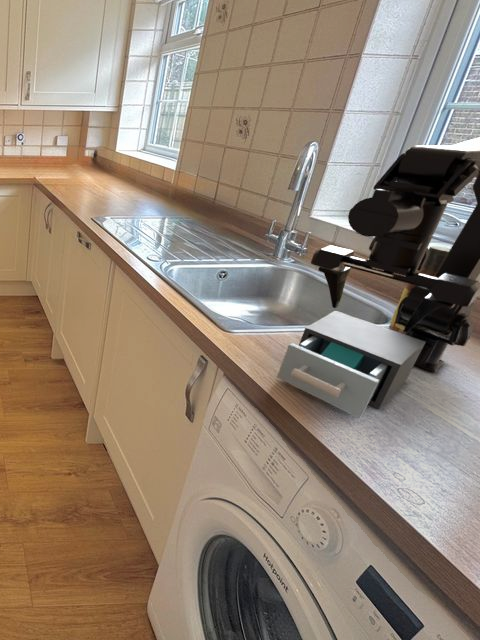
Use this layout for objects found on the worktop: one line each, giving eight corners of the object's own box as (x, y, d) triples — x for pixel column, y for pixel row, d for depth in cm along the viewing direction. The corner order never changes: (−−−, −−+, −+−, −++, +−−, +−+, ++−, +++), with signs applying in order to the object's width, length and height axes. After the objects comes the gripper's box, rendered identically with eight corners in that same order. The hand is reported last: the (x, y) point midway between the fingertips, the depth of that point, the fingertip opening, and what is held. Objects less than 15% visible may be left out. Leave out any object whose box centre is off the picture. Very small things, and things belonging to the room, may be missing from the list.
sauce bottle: (435, 344, 86) (481, 256, 79) (400, 340, 87) (443, 253, 80) (410, 328, 92) (451, 245, 85) (378, 325, 93) (416, 242, 86)
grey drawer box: (378, 409, 66) (400, 364, 63) (290, 367, 76) (305, 327, 73) (404, 382, 73) (425, 341, 70) (320, 347, 83) (335, 310, 80)
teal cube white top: (328, 357, 73) (331, 341, 70) (359, 370, 69) (364, 354, 67) (315, 373, 71) (317, 358, 69) (346, 388, 68) (350, 372, 66)
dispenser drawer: (349, 428, 61) (366, 391, 58) (265, 385, 70) (277, 351, 67) (386, 392, 69) (403, 358, 67) (307, 357, 78) (319, 326, 76)
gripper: (510, 239, 60) (461, 331, 66) (349, 210, 75) (321, 287, 80) (495, 252, 54) (443, 351, 60) (325, 218, 69) (296, 300, 75)
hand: (368, 318), depth 69 cm, fingers open, 9 cm apart
